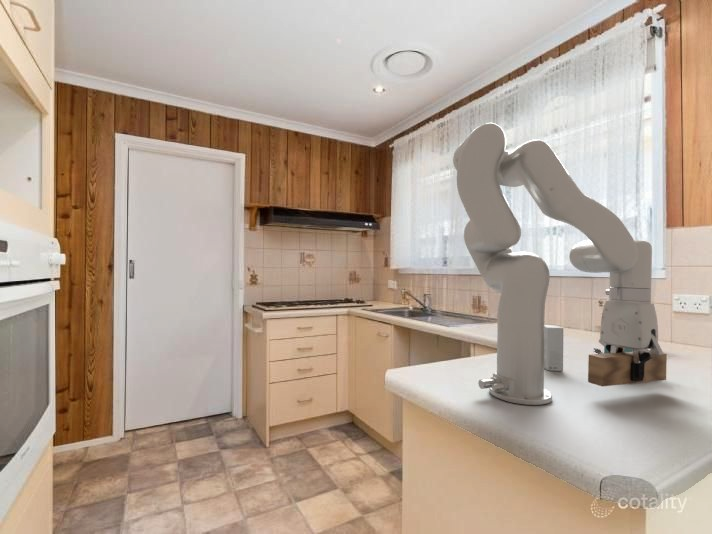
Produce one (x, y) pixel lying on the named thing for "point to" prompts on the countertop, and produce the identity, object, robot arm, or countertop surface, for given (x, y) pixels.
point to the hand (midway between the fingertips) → (627, 377)
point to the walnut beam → (623, 369)
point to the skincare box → (553, 348)
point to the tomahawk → (598, 351)
